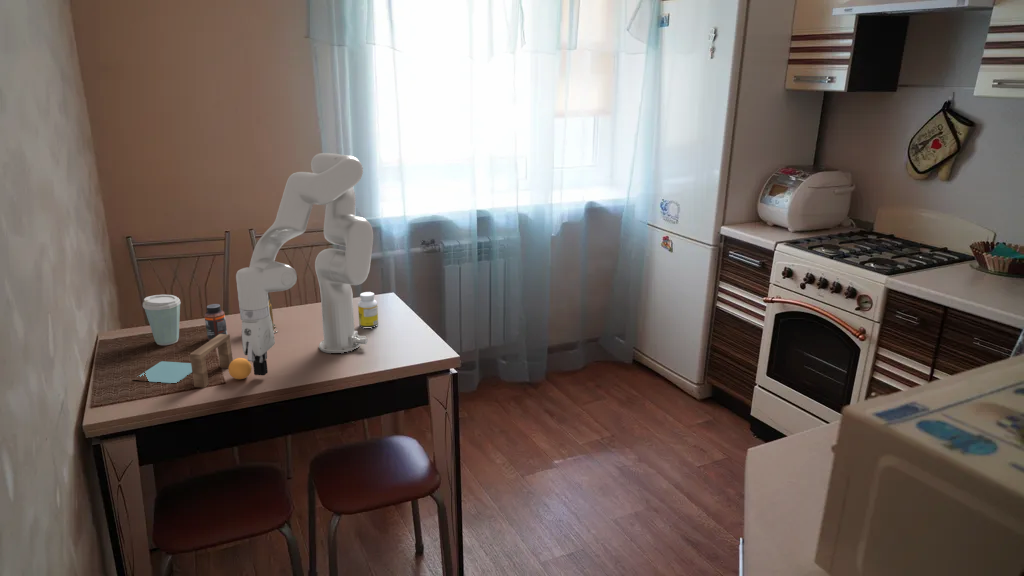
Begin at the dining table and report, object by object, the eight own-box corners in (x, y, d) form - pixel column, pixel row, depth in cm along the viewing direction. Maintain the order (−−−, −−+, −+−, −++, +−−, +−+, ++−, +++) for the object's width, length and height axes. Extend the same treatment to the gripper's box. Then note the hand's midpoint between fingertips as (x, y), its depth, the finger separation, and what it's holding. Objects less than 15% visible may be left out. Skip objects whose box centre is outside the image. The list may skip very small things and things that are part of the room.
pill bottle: (363, 322, 230) (361, 290, 227) (381, 323, 229) (379, 291, 226) (356, 328, 224) (354, 296, 220) (374, 330, 223) (373, 297, 220)
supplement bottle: (231, 336, 216) (227, 303, 213) (221, 342, 210) (217, 309, 207) (213, 335, 217) (209, 302, 213) (204, 341, 211) (199, 308, 208)
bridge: (233, 365, 194) (229, 334, 191) (204, 387, 180) (200, 354, 177) (223, 364, 195) (219, 333, 192) (194, 386, 180) (189, 354, 177)
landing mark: (202, 364, 194) (202, 364, 194) (176, 383, 182) (175, 383, 182) (161, 361, 196) (161, 361, 196) (132, 380, 183) (132, 380, 183)
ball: (242, 350, 186) (229, 363, 188) (234, 359, 181) (220, 372, 182) (259, 364, 188) (245, 377, 189) (251, 374, 182) (237, 387, 184)
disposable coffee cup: (176, 333, 218) (170, 289, 213) (192, 341, 211) (186, 296, 206) (143, 342, 210) (135, 297, 205) (158, 351, 203) (150, 305, 199)
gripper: (255, 322, 173) (261, 386, 179) (279, 304, 187) (285, 364, 193) (227, 321, 174) (235, 384, 179) (254, 303, 188) (260, 362, 193)
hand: (261, 373), depth 186 cm, fingers closed
